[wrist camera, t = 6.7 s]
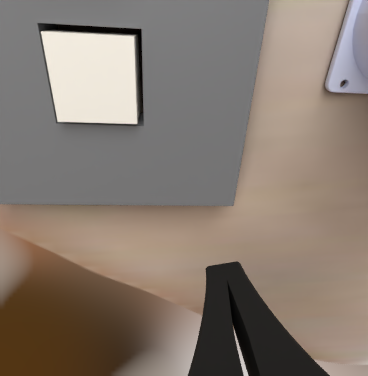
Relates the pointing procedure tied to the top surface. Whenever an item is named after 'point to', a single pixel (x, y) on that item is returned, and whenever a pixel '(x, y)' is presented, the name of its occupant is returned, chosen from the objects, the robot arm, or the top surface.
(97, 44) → the button
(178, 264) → the top surface
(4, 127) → the button board
